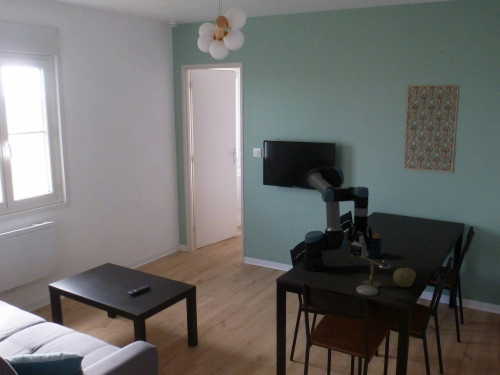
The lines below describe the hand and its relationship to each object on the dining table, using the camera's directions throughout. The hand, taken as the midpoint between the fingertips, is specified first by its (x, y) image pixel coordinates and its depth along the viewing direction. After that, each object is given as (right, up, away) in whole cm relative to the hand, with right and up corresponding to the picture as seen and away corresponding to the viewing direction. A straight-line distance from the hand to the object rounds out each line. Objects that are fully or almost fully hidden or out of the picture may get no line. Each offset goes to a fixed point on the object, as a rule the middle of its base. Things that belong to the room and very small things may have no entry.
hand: (359, 254), depth 262 cm
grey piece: (0, -1, 0) cm, 1 cm away
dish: (+5, -22, +4) cm, 22 cm away
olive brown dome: (+28, -20, +12) cm, 36 cm away
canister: (+23, -10, +63) cm, 67 cm away
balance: (+10, -20, +12) cm, 25 cm away
